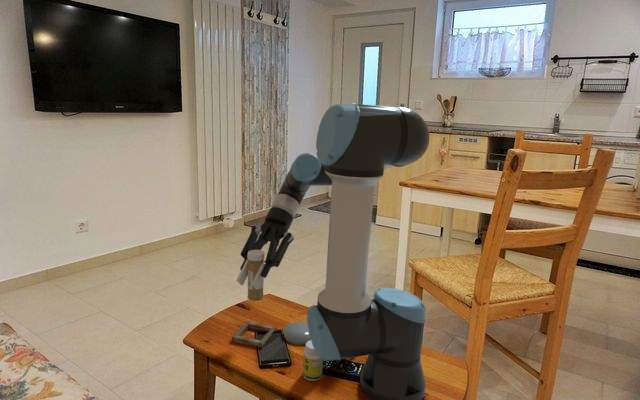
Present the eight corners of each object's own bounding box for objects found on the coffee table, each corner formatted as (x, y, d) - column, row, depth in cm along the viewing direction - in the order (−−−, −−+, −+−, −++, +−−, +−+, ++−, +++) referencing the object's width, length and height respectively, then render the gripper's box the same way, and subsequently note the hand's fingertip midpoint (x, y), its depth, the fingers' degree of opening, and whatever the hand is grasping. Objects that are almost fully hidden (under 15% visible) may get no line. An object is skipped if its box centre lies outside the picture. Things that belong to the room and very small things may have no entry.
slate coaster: (325, 329, 124) (325, 326, 124) (313, 348, 114) (313, 344, 114) (291, 322, 127) (291, 319, 127) (276, 340, 117) (276, 336, 117)
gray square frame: (276, 331, 122) (276, 327, 121) (262, 348, 113) (262, 343, 112) (247, 325, 124) (247, 321, 124) (231, 341, 115) (231, 336, 115)
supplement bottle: (300, 371, 104) (301, 340, 102) (318, 368, 105) (320, 337, 103) (305, 383, 99) (307, 350, 97) (324, 380, 101) (326, 348, 99)
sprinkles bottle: (263, 301, 114) (264, 254, 111) (246, 301, 113) (247, 254, 111) (263, 294, 119) (264, 249, 116) (247, 294, 118) (247, 249, 115)
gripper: (312, 224, 122) (279, 298, 111) (262, 216, 129) (228, 283, 118) (303, 210, 116) (268, 286, 105) (252, 202, 124) (215, 271, 113)
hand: (247, 284), depth 112 cm, fingers closed on sprinkles bottle, 4 cm apart
